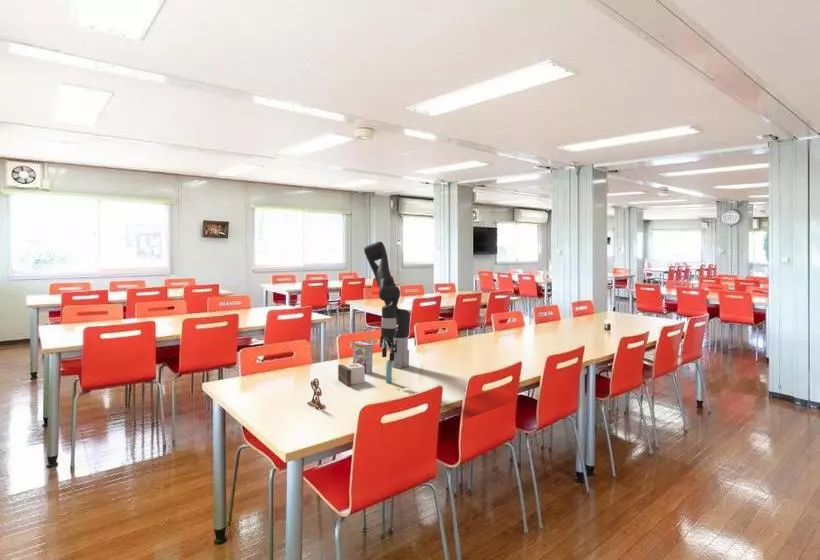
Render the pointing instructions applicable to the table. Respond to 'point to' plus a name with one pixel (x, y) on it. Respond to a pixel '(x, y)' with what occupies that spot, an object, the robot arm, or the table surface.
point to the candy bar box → (363, 355)
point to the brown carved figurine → (314, 401)
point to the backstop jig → (344, 375)
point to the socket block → (356, 373)
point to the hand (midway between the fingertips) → (387, 358)
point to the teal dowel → (388, 371)
